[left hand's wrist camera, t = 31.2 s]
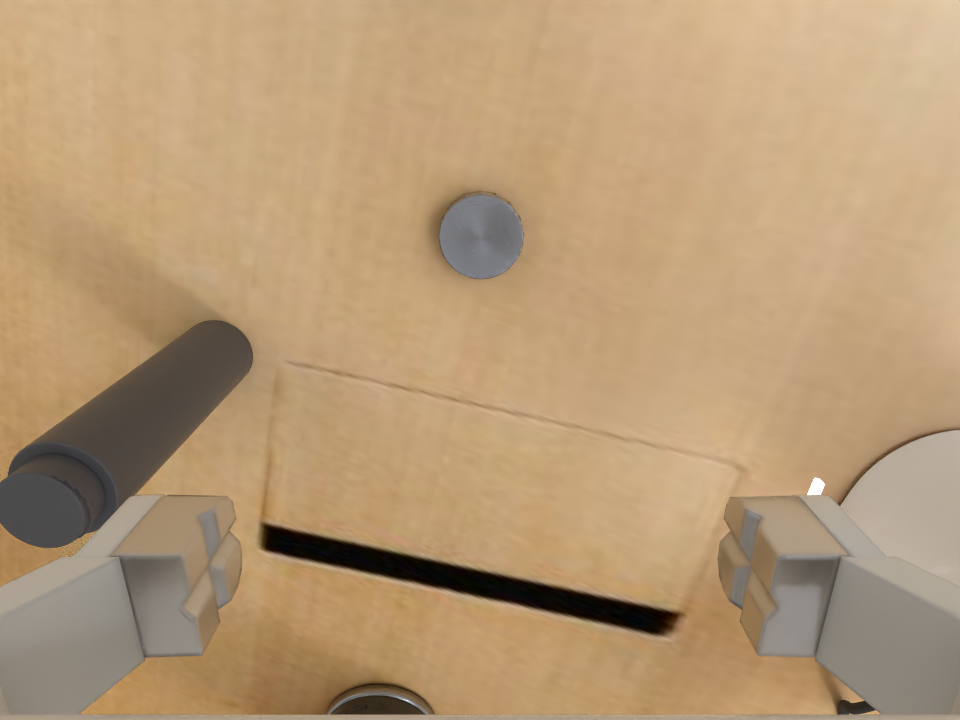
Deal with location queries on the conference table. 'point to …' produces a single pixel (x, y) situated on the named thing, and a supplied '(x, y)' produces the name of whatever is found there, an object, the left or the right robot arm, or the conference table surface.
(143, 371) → the grey tall cylinder
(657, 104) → the conference table surface
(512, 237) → the lid
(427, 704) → the right robot arm
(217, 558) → the left robot arm
